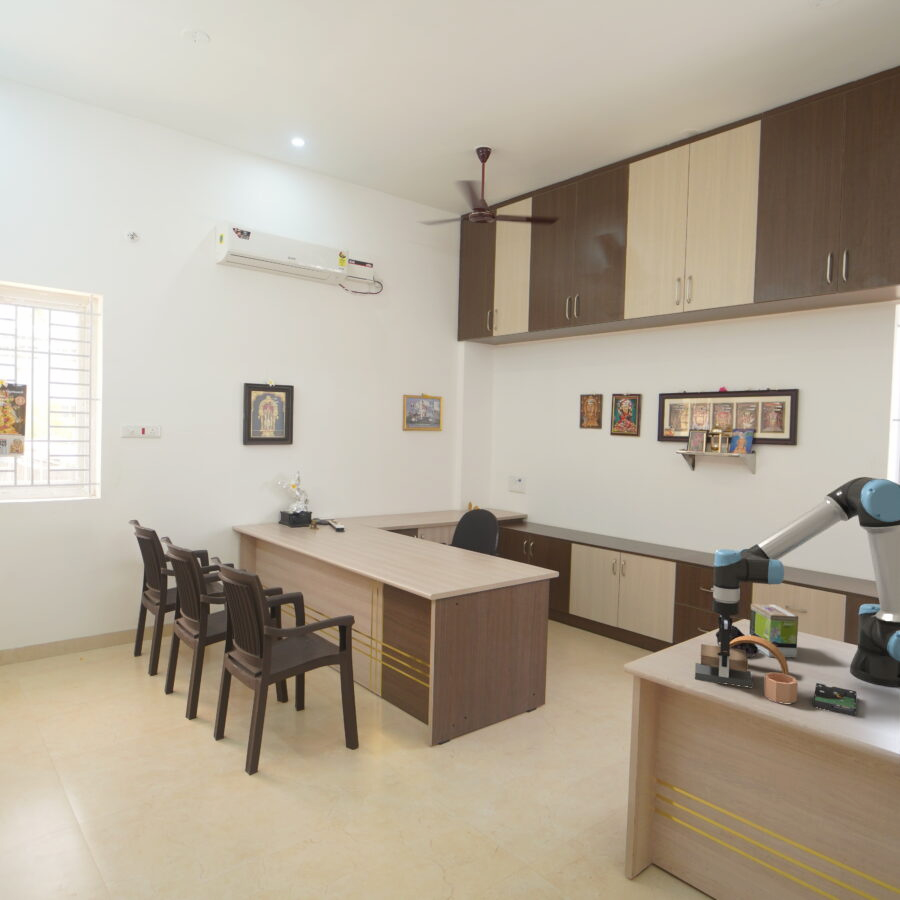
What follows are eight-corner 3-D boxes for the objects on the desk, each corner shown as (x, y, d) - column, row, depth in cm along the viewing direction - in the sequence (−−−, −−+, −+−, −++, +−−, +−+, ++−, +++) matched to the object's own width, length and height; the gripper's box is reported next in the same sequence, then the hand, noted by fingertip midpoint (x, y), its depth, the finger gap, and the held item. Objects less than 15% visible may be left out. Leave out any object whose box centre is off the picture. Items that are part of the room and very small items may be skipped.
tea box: (797, 658, 215) (799, 615, 214) (768, 657, 215) (770, 614, 214) (775, 643, 230) (777, 603, 229) (747, 642, 230) (749, 602, 229)
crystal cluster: (758, 651, 223) (756, 622, 224) (758, 660, 211) (757, 629, 212) (717, 647, 229) (716, 620, 230) (715, 656, 217) (714, 626, 217)
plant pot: (793, 694, 184) (793, 674, 184) (798, 706, 176) (799, 685, 176) (762, 690, 187) (763, 670, 186) (766, 702, 179) (767, 681, 179)
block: (750, 677, 197) (750, 671, 196) (752, 688, 188) (752, 681, 188) (695, 669, 202) (695, 662, 202) (694, 679, 194) (695, 672, 194)
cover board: (745, 659, 198) (745, 650, 198) (747, 671, 188) (747, 661, 188) (700, 653, 203) (701, 644, 203) (700, 664, 193) (701, 655, 192)
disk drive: (815, 691, 188) (812, 708, 176) (815, 682, 188) (813, 699, 176) (856, 700, 183) (856, 718, 170) (856, 690, 183) (856, 708, 170)
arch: (786, 679, 197) (787, 647, 196) (718, 663, 208) (719, 634, 208) (788, 673, 201) (789, 642, 201) (722, 658, 213) (723, 629, 212)
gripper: (712, 590, 207) (709, 655, 208) (713, 608, 185) (710, 681, 186) (737, 592, 204) (734, 659, 205) (741, 611, 182) (738, 685, 183)
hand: (723, 669), depth 195 cm, fingers closed on cover board, 11 cm apart
